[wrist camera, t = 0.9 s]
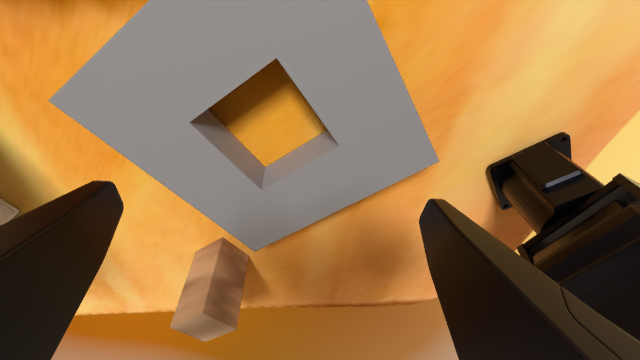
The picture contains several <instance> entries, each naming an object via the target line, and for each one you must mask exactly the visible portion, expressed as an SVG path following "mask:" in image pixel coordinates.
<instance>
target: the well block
mask: <svg viewBox="0 0 640 360" xmlns="http://www.w3.org/2000/svg"><path fill="white" fill-rule="evenodd" d="M276 58H277V59H278V61H279V62H280V64H281V65H282V66H283V68H284V69H285V71H286V72H287V73H288V75H289V76H290V78H291V79H292V80H293V82H294V83H295V85H296V86H297V87H298V89H299V90H300V92H301V93H302V94H303V96H304V97H305V99H306V100H307V101H308V103H309V104H310V106H311V107H312V108H313V110H314V111H315V113H316V114H317V115H318V117H319V118H320V120H321V121H322V122H323V124H324V125H325V127H326V128H327V129H328V130H327V131H325V132H323V133H322V134H320V135H318V136H317V137H315V138H313V139H312V140H310V141H308V142H307V143H305V144H303V145H302V146H300V147H298V148H297V149H295V150H293V151H292V152H290V153H288V154H287V155H285V156H283V157H282V158H280V159H278V160H277V161H275V162H273V163H272V164H270V165H268V166H267V167H264V166H263V165H262V164H261V162H260V161H259V160H258V159H257V158H256V157H255V156H254V155H253V154H252V153H251V152H250V151H249V150H248V149H247V148H246V147H245V146H244V145H243V144H242V143H241V142H240V141H239V140H238V139H237V138H236V137H235V136H234V135H233V134H232V133H231V132H230V131H229V130H228V129H227V128H226V127H225V126H224V125H223V124H222V123H221V122H220V121H219V120H218V119H217V118H216V117H215V116H214V115H213V114H212V113H211V112H210V111H209V110H208V108H210V107H211V106H212V105H214V104H215V103H216V102H218V101H219V100H220V99H222V98H223V97H224V96H226V95H227V94H229V93H230V92H231V91H233V90H234V89H235V88H237V87H238V86H239V85H241V84H242V83H243V82H245V81H246V80H247V79H249V78H250V77H252V76H253V75H254V74H256V73H257V72H258V71H260V70H261V69H262V68H264V67H265V66H266V65H268V64H269V63H270V62H272V61H273V60H275V59H276ZM48 101H49V102H51V103H52V104H53V105H55V106H56V107H58V108H59V109H60V110H62V111H63V112H64V113H66V114H67V115H68V116H70V117H71V118H73V119H74V120H75V121H77V122H78V123H79V124H81V125H82V126H84V127H85V128H86V129H88V130H89V131H90V132H92V133H93V134H94V135H96V136H97V137H99V138H100V139H101V140H103V141H104V142H105V143H107V144H108V145H110V146H111V147H112V148H114V149H115V150H116V151H118V152H119V153H120V154H122V155H123V156H125V157H126V158H127V159H129V160H130V161H131V162H133V163H134V164H136V165H137V166H138V167H140V168H141V169H142V170H144V171H145V172H146V173H148V174H149V175H151V176H152V177H153V178H155V179H156V180H157V181H159V182H160V183H161V184H163V185H164V186H166V187H167V188H168V189H170V190H171V191H172V192H174V193H175V194H177V195H178V196H179V197H181V198H182V199H183V200H185V201H186V202H187V203H189V204H190V205H192V206H193V207H194V208H196V209H197V210H198V211H200V212H201V213H203V214H204V215H205V216H207V217H208V218H209V219H211V220H212V221H213V222H215V223H216V224H218V225H219V226H220V227H222V228H223V229H224V230H226V231H227V232H229V233H230V234H231V235H233V236H234V237H235V238H237V239H238V240H239V241H241V242H242V243H244V244H245V245H246V246H248V247H249V248H250V249H252V250H253V251H257V250H259V249H261V248H263V247H265V246H267V245H269V244H271V243H273V242H275V241H278V240H280V239H282V238H284V237H286V236H288V235H290V234H292V233H294V232H296V231H298V230H300V229H302V228H304V227H306V226H308V225H310V224H312V223H314V222H316V221H318V220H320V219H323V218H325V217H327V216H329V215H331V214H333V213H335V212H337V211H339V210H341V209H343V208H345V207H347V206H349V205H351V204H353V203H355V202H357V201H359V200H361V199H363V198H366V197H368V196H370V195H372V194H374V193H376V192H378V191H380V190H382V189H384V188H386V187H388V186H390V185H392V184H394V183H396V182H398V181H400V180H402V179H404V178H406V177H408V176H411V175H413V174H415V173H417V172H419V171H421V170H423V169H425V168H427V167H429V166H431V165H433V164H435V163H437V162H439V160H438V157H437V155H436V153H435V151H434V149H433V146H432V144H431V142H430V140H429V137H428V135H427V133H426V131H425V129H424V126H423V124H422V122H421V120H420V117H419V115H418V113H417V111H416V109H415V106H414V104H413V102H412V100H411V97H410V95H409V93H408V91H407V89H406V86H405V84H404V82H403V80H402V77H401V75H400V73H399V71H398V69H397V66H396V64H395V62H394V60H393V57H392V55H391V53H390V51H389V49H388V46H387V44H386V42H385V40H384V37H383V35H382V33H381V31H380V29H379V26H378V24H377V22H376V20H375V17H374V15H373V13H372V11H371V9H370V6H369V4H368V2H367V0H149V1H148V2H147V3H146V4H145V5H144V6H143V7H142V8H141V9H140V10H139V11H138V12H137V13H136V14H135V15H134V16H133V17H132V18H131V19H130V20H129V21H128V22H127V23H126V24H125V25H124V26H123V27H122V28H121V29H120V30H119V31H118V32H117V33H116V34H115V35H114V36H113V37H112V38H111V39H110V40H109V41H108V42H107V43H106V44H105V45H104V46H103V47H102V48H101V49H100V50H99V51H98V52H97V53H96V54H95V55H94V56H93V57H92V58H91V59H90V60H89V61H88V62H87V63H86V64H85V65H84V66H83V67H82V68H81V69H80V70H79V71H78V72H77V73H76V74H75V75H74V76H73V77H72V78H71V79H70V80H69V81H68V82H67V83H66V84H65V85H64V86H63V87H62V88H60V89H59V90H58V91H57V92H56V93H55V94H54V95H53V96H52V97H51V98H50V99H49V100H48Z"/></svg>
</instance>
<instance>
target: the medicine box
mask: <svg viewBox="0 0 640 360" xmlns="http://www.w3.org/2000/svg"><path fill="white" fill-rule="evenodd" d="M18 213H19V210H18V208H16V207H14V206H13V205H11V204H9V203H8V202H6V201H4V200H3V199H1V198H0V225H2V224H4V223H6V222H8V221H10V220H12V219H13V218H14V217H15V216H16V215H17V214H18Z"/></svg>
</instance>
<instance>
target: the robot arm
mask: <svg viewBox="0 0 640 360" xmlns="http://www.w3.org/2000/svg"><path fill="white" fill-rule="evenodd" d="M488 173H489V176H490V179H491V183H492V186H493V189H494V192H495V195H496V198H497V202H498V205H499V206H500V208H501V209H503V210H505V209H508V208H510V207H514V208H515V209H516V210H517V211H518V212H519V214H520V215H521V216H522V217H523V218H524V219H525V221H526V222H527V223H528V224H529V225H530V226H531V228H532V229H533V230H534V231H535V232H536V233H537V235H536V236H534V237H533V238H531V239H530V240H528V241H527V242H526V243H524V244H521V245H519V246H518V247H517V250H518V252H519V253H520V255H518V254H517V253H516V252H514V251H513V250H511V249H510V248H509V247H507V246H506V245H505V244H503V243H502V242H501V241H499V240H498V239H497V238H495V237H494V236H493V235H491V234H490V233H488V232H487V231H486V230H484V229H483V228H482V227H480V226H479V225H478V224H476V223H475V222H474V221H472V220H471V219H470V218H468V217H467V216H466V215H464V214H463V213H461V212H460V211H459V210H457V209H456V208H455V207H453V206H452V205H451V204H449V203H448V202H447V201H445V200H443V199H429V200H428V202H427V204H426V206H425V208H424V210H423V212H422V214H421V216H420V219H419V225H420V230H421V234H422V239H423V244H424V248H425V253H426V258H427V262H428V266H429V270H430V273H431V277H432V280H433V283H434V286H435V289H436V292H437V295H438V298H439V300H440V304H441V307H442V310H443V313H444V316H445V319H446V322H447V325H448V328H449V331H450V334H451V337H452V340H453V343H454V346H455V349H456V352H457V355H458V358H459V360H640V184H639V183H637V182H635V181H633V180H632V179H630V178H628V177H626V176H624V175H622V174H618V175H617V176H615V177H614V178H612V179H613V180H612V181H611V182H609V183H608V184H607V185H604V184H602V183H601V182H600V181H598V180H597V179H596V178H594V177H593V176H591V175H590V174H589V173H587V172H586V171H585V170H584V169H582V168H581V167H580V166H578V165H577V164H576V163H574V162H573V161H572V160H571V144H570V135H568V134H567V133H565V132H562V133H559V134H557V135H554V136H552V137H550V138H548V139H546V140H544V141H541V142H539V143H537V144H535V145H533V146H530V147H528V148H526V149H524V150H522V151H520V152H517V153H515V154H513V155H511V156H509V157H507V158H504V159H502V160H500V161H498V162H496V163H493V164H491V165H490V166H489V167H488ZM122 213H123V202H122V200H121V197H120V195H119V193H118V191H117V188H116V186H115V184H114V183H113V182H110V181H92V182H90V183H88V184H86V185H84V186H81V187H79V188H77V189H75V190H73V191H71V192H69V193H67V194H65V195H63V196H61V197H58V198H56V199H54V200H52V201H50V202H48V203H46V204H44V205H42V206H40V207H38V208H35V209H33V210H31V211H29V212H27V213H25V214H23V215H21V216H19V217H17V218H15V219H12V220H10V221H8V222H6V223H4V224H2V225H0V360H51V358H52V356H53V355H54V353H55V351H56V349H57V347H58V345H59V343H60V341H61V339H62V338H63V336H64V334H65V332H66V330H67V328H68V326H69V324H70V323H71V321H72V319H73V317H74V315H75V313H76V311H77V310H78V308H79V306H80V304H81V302H82V300H83V298H84V297H85V295H86V293H87V291H88V289H89V287H90V285H91V283H92V282H93V280H94V278H95V276H96V274H97V272H98V270H99V268H100V266H101V264H102V262H103V260H104V258H105V256H106V253H107V251H108V248H109V246H110V243H111V241H112V238H113V236H114V233H115V230H116V228H117V225H118V223H119V220H120V218H121V215H122Z"/></svg>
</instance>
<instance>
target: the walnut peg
mask: <svg viewBox="0 0 640 360" xmlns="http://www.w3.org/2000/svg"><path fill="white" fill-rule="evenodd" d="M248 257H249V256H248V255H247V254H246V253H244V252H243V251H241V250H240V249H239V248H237V247H236V246H234V245H233V244H231V243H230V242H229V241H227V240H226V239H224V238H223V237H222V238H221V239H219V240H217V241H215V242H213V243H211V244H209V245H207V246H206V247H204V248H202V249H200V250H198V251H196V253H195V256H194V259H193V262H192V265H191V267H190V270H189V273H188V276H187V279H186V282H185V285H184V288H183V290H182V293H181V296H180V299H179V302H178V305H177V308H176V311H175V313H174V316H173V319H172V322H171V325H170V328H172V329H175V330H177V331H180V332H182V333H185V334H187V335H190V336H192V337H195V338H197V339H200V340H202V341H204V342H205V341H208V340H211V339H213V338H216V337H218V336H221V335H223V334H226V333H229V332H231V331H234V330H236V329H237V322H238V316H239V311H240V305H241V299H242V293H243V287H244V281H245V275H246V269H247V263H248Z"/></svg>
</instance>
